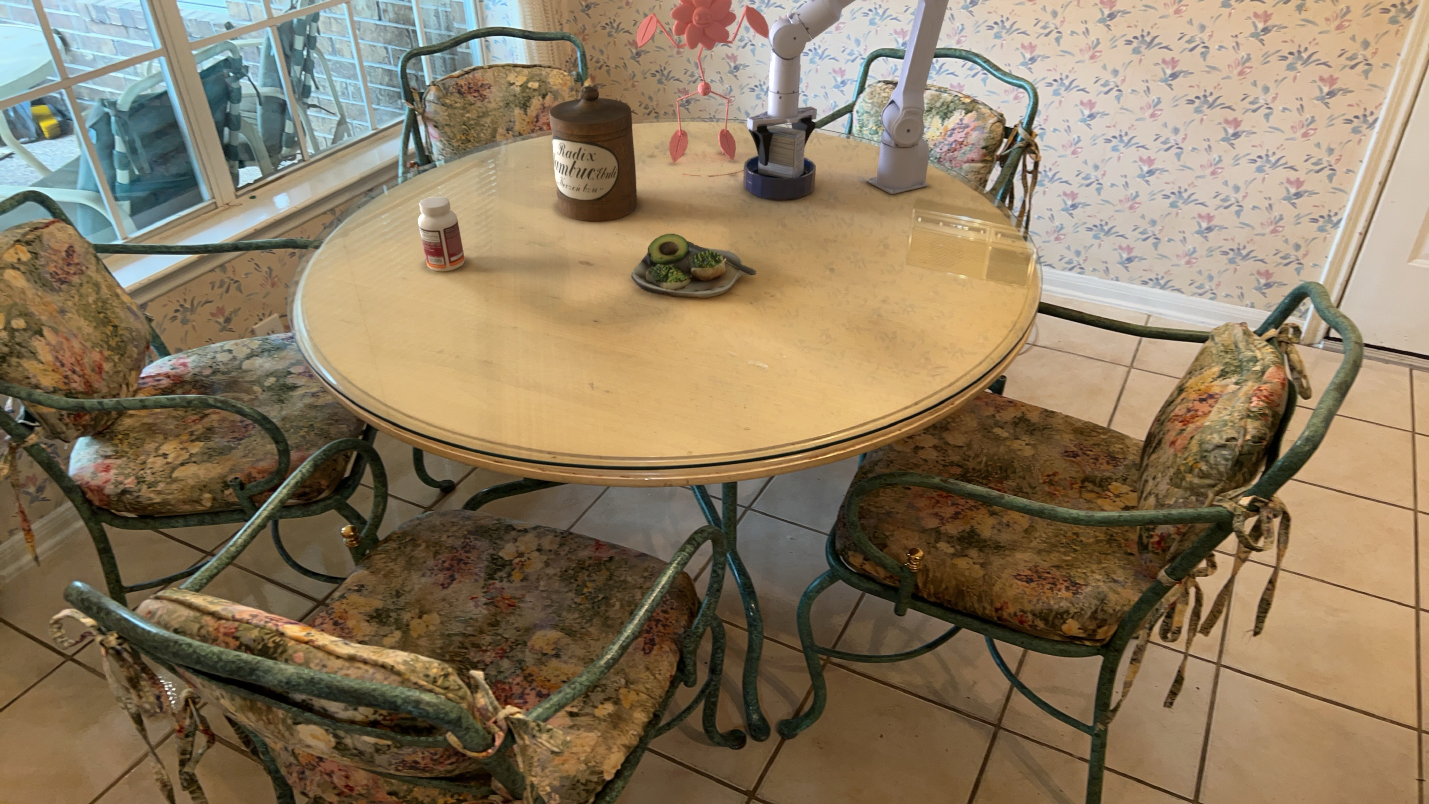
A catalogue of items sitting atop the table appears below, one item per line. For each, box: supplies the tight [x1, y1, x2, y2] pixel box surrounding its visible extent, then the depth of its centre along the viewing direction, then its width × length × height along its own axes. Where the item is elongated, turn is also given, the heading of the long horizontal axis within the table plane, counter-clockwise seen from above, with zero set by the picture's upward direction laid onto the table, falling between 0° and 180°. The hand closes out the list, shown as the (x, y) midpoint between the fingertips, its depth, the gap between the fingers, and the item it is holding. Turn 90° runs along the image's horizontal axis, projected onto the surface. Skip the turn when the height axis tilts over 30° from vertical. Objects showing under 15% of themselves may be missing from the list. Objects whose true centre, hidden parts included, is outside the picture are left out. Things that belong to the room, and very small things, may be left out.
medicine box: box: [758, 125, 806, 178], centre depth 174 cm, size 8×4×9 cm, turn 61°
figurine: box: [636, 0, 770, 178], centre depth 178 cm, size 15×26×35 cm, turn 94°
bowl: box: [742, 155, 817, 201], centre depth 177 cm, size 14×14×4 cm
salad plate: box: [630, 233, 758, 299], centre depth 146 cm, size 19×18×5 cm
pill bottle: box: [417, 195, 465, 272], centre depth 147 cm, size 6×6×11 cm
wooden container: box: [548, 86, 638, 222], centre depth 164 cm, size 15×15×22 cm
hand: (780, 160), depth 175 cm, fingers closed on medicine box, 7 cm apart
